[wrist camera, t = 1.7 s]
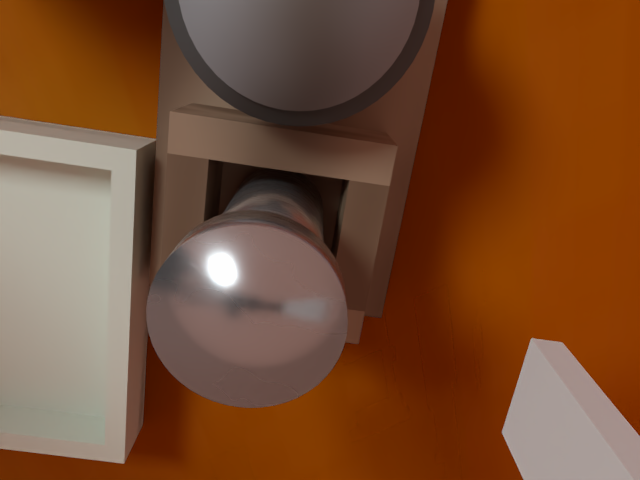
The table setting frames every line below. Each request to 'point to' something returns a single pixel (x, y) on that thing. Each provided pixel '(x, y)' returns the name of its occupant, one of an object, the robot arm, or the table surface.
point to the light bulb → (252, 297)
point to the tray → (73, 288)
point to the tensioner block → (296, 119)
